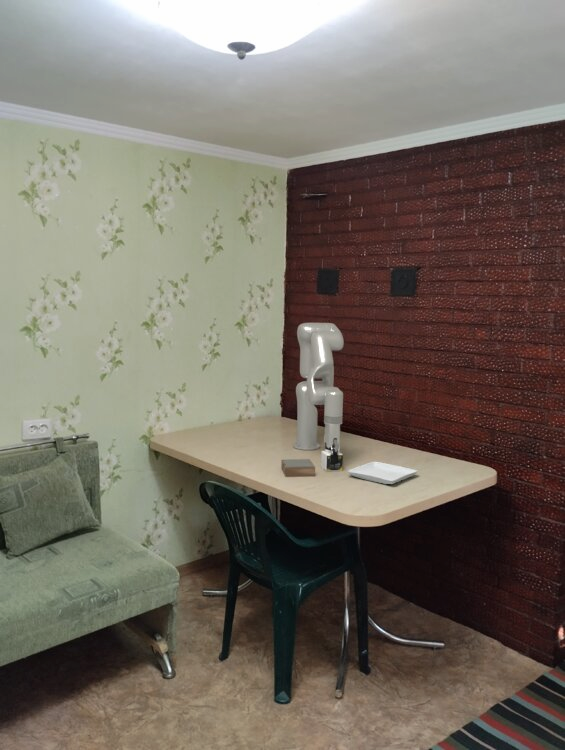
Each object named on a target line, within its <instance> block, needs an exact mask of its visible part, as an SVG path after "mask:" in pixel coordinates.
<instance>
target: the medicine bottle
mask: <svg viewBox="0 0 565 750" xmlns="http://www.w3.org/2000/svg"><path fill="white" fill-rule="evenodd" d="M340 446H341V445H340ZM340 446H339V448H338V464H330V454H331V447H330V448H328V447H327V446H326V442H325V444H324V450H321V453H320V454H321V461H320V465H321V466H320V467H321V469H323V470H324V471H325V472H326V473H328V472H342V471H343V469H344V468H343V464H344V463H343V462H344V461H343V459H344V455H343V453H342V452H340V449H341V447H340ZM332 447H334V446H332ZM333 450H334V449H333Z"/></svg>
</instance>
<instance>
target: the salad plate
mask: <svg viewBox="0 0 565 750" xmlns="http://www.w3.org/2000/svg"><path fill="white" fill-rule="evenodd" d="M418 471H419V470H417V469H413V468H408V467H404V466H400V465H395V464H391V463H385V462H380V461H371V462H370V461H369V462H368V463H365V464H362V465H358V466H356V467H354V468H351V469H348V470H347V473H348V474H349V475H350V476H353V477H355V478H358V479H361V480H363V481H369V482H372V481H373V483H377V482H378V484H381V483H383V484H382V485H386V484H391V485H394V484H396V482H397V483H399V482H402V481H404V480H406V479H408V478H411V477H413V476H415V475H416V474H417V473H418ZM401 480H402V481H401Z"/></svg>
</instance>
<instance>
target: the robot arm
mask: <svg viewBox="0 0 565 750" xmlns="http://www.w3.org/2000/svg"><path fill="white" fill-rule="evenodd" d="M296 335H297V341H298V344H299V350H300V351H299V352H300V354H299V373H300V376H301V378H303V379H306V380H304V381H301V382H299V383H297V385H296V387H295V394H296V401H297V402H296V403H297V405H296V406H297V410H296V411H297V413H296V414H297V418H296V419H297V421H296V422H297V423H296V442H294V443H293V444H292V445H293V446H292V447H293V448H295V449H296V450H302V451H303V450H304V451H314V450H319V448H320V447H321V444H320V443H319V442H318V409H317V407H316V406H318V405H321V406H322V405H324V406H323V407H324V414H323V415H324V416H323V424H324V434H323V435H324V437H323V444H324V445H325V442H326V446H327V447H328V448H330V447H331V454H330V464H338V448H339V446H341V445H340V444H341V425H342V424H343V408H344V407H343V403H344V392H343V391H342V390H340V388H339V387H337V386H334V380H335V379H334V376H335V372H334V370H335V367H334V357H333V351H342V349H343V348H344V341H345V340H344V337H343V333H342V331H341V330H340V329H339V328H338V327H337V325H336V324H335V323H331V322H303V323H300V324H299V325H298V326H297V331H296ZM315 379H322V380H315ZM332 446H334V447H332ZM333 449H334V450H333Z"/></svg>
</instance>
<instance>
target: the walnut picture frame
mask: <svg viewBox="0 0 565 750" xmlns="http://www.w3.org/2000/svg"><path fill="white" fill-rule="evenodd" d="M280 466H281V468H280V469H281V471H282V473H283V474H284V477H285V478H288V477H289V478H291V477H292V478H293V477H294V478H296V477H297V478H298V477H316V467H315V465H314V463H313V462H312V461H311V459H309V458H302V459H301V458H299V459H295V458H294V459H292V458H291V459H281V465H280Z"/></svg>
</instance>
